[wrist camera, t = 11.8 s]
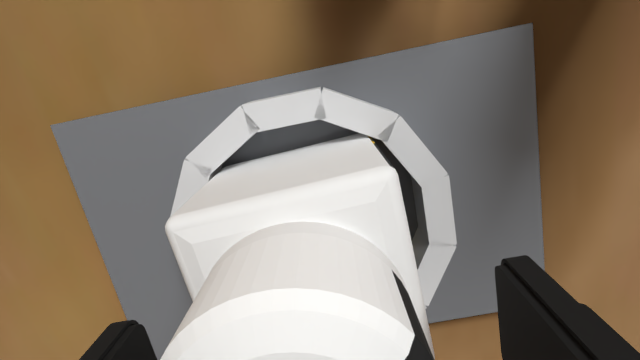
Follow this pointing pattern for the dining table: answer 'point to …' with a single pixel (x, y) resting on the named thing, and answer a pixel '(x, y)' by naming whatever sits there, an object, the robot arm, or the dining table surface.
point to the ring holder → (320, 126)
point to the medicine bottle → (300, 260)
